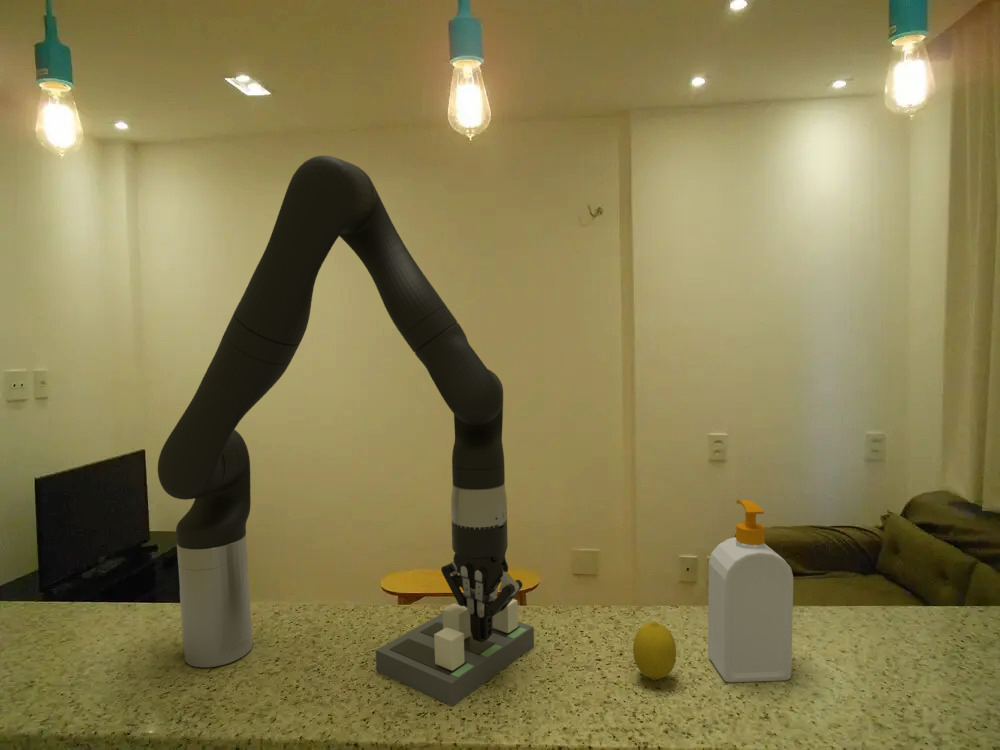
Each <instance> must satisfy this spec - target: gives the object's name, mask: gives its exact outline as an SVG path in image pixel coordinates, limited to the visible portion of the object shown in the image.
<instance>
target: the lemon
mask: <svg viewBox="0 0 1000 750" xmlns="http://www.w3.org/2000/svg"><path fill="white" fill-rule="evenodd" d="M665 626H666V625H665ZM665 626H664V625H663V624H661V623H659V622H657V621H656V620H654V621H651V622H648V623H646V624H643V625H642V626H641V627H640V628H639V629H638V630H637V632H636V634H635V637H634V639H633V645H632V652H633V653H632V654H633V660H634V662H635V665H636V667H637V668H638V670H639V671H640V672H641V673H642V674H643V675H644V676H646V677H648V678H650V679H651V680H652V681H657V680H659V679H663V678H665V677H667V676H668V675H670V674H671V672H672V671H673V669H674V667H675V665H676V660H677V648H676V643H675V642H676V641H675V638H674V637H673V634H672V633H671V631H670V630H669V629H668V628H667V627H665Z"/></svg>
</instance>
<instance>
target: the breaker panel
mask: <svg viewBox="0 0 1000 750" xmlns="http://www.w3.org/2000/svg"><path fill="white" fill-rule="evenodd" d="M457 604H458V603H457ZM458 605H459V604H458ZM464 607H465V606H464ZM534 629H535V628H534V626H532V625H529V624H527V623H523V622H520V621H518V627H517V628H515V629H514V630H512V631H511V632H510V633H506V632H503V631H500V630H497V629H494V628H493V633H492V635H491V636H490V638H489V639H487V640H486V641H484V642H479V641H476V640H474V639H473V637H472V634H471V631H470V634H471V636H469V637H468V638H466V639H464V663H463V664H462V665H460V666H459V667H457V668H456V669H454V670H453V671H451V670H449V669H447V668H444V667H442V666H440V665H437V664H435V643H434V634H436V633H437V632H439V631H441V630H443V612H442V613H440V614H438V615H437V616H435V617H432V618H431V619H429V620H428V621H425V622H424V623H421V624H420V625H419V626H417V627H415V628H413V629H412V630H409V631H407V632H406V633H404V634H402V635H401V636H398V637H397V638H395V639H392V640H391V641H390V642H388V643H386V644H384V645H381V647H378V648H377V649H375V667H376V671H377V672H378V673H380V672H381V673H380V674H382V675H384V676H386V675H387V676H386V677H389V678H391V679H393V678H394V679H393V680H395V679H396V680H395V681H397V680H398V681H397V682H399V681H400V682H399V683H401V684H404V685H405V686H407V687H410V688H413V689H414V690H417V691H418V692H421V693H423V694H425V695H427V696H430V697H432V698H434V699H436V700H439V701H440V702H443V703H444V704H446V705H449V706H451V707H453V706H455V705H456V704H457V703H460V702H461V700H463V699H464V698H465V697H467V696H468V695H470V694H472V692H474V691H476V690H477V689H478V688H479V687H480V686H482V685H483V684H484V683H486V682H488V681H489V680H490V679H492V678H493V677H494V676H495V675H497V674H498V673H500V672H501V671H502V670H503V669H505V668H506V667H508V666H509V665H511V664H512V663H513V662H515V661H516V660H517V659H519V658H521V656H523V655H524V654H525V653H527V652H528V651H530V650H531V649H532V648H534V647H535V638H534V637H535V635H534V631H535V630H534Z"/></svg>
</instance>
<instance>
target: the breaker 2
mask: <svg viewBox="0 0 1000 750" xmlns="http://www.w3.org/2000/svg"><path fill="white" fill-rule="evenodd" d="M518 601H519V600H517V599H515V598H513V599H512V600H511V602H510V603H509V604H508V605H507V607H506V608H505V609H504V610H503V611H500V612H499V613H497V614H496V615H494V616H493V617H492V619H493V625H492V626H493V628H494V629H497V630H500V631H503V632H506V633H510V632H511V631H512V630H514V629H515V628H517V627H518V622H519V618H518V617H519V615H518V614H519V610H518V609H519V607H518V603H519V602H518Z"/></svg>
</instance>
